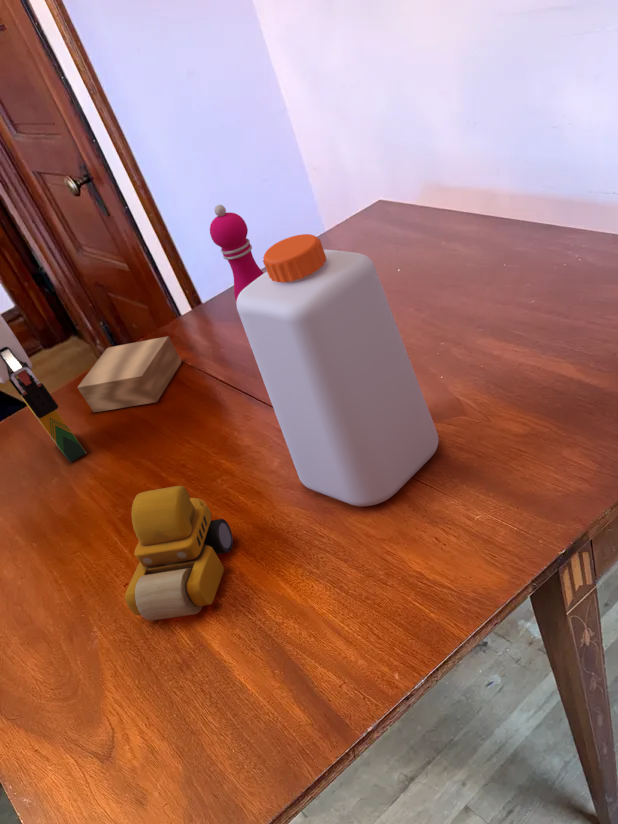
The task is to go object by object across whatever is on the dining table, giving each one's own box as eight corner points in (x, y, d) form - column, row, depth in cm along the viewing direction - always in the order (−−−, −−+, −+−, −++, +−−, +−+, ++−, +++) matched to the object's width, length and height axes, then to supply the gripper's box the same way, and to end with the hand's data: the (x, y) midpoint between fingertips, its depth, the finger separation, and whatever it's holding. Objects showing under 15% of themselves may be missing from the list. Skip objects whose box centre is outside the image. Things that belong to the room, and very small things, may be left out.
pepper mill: (239, 325, 132) (188, 213, 119) (270, 305, 135) (224, 193, 121) (261, 333, 127) (210, 217, 114) (293, 312, 130) (247, 196, 117)
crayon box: (57, 446, 117) (12, 384, 110) (74, 436, 118) (30, 374, 110) (69, 464, 112) (23, 400, 105) (87, 453, 113) (43, 389, 105)
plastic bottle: (289, 486, 94) (189, 277, 75) (365, 416, 100) (291, 209, 82) (377, 519, 85) (288, 292, 66) (454, 440, 91) (394, 214, 73)
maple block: (93, 412, 122) (76, 387, 119) (122, 372, 131) (107, 347, 127) (157, 402, 119) (141, 375, 116) (182, 361, 128) (168, 335, 124)
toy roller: (138, 632, 82) (86, 567, 75) (172, 540, 92) (129, 476, 85) (212, 621, 80) (166, 553, 73) (238, 529, 90) (200, 462, 83)
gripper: (-74, 295, 103) (3, 398, 114) (-54, 324, 91) (30, 435, 102) (-24, 270, 105) (48, 373, 116) (3, 294, 93) (79, 407, 104)
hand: (40, 402), depth 109 cm, fingers open, 9 cm apart
